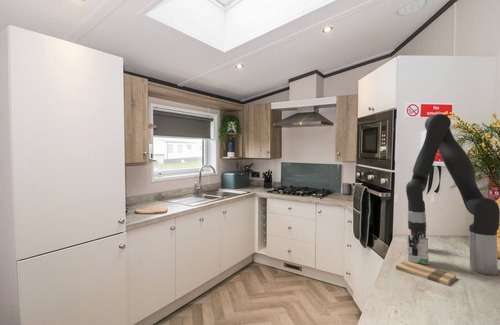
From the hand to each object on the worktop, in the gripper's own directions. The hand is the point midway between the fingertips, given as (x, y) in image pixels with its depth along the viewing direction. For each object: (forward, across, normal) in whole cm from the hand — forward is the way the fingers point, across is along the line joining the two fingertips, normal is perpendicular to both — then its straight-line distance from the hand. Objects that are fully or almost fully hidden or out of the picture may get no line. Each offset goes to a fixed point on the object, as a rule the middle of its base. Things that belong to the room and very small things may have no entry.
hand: (417, 253), depth 126 cm
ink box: (+4, 0, 0) cm, 4 cm away
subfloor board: (+4, +11, +7) cm, 14 cm away
